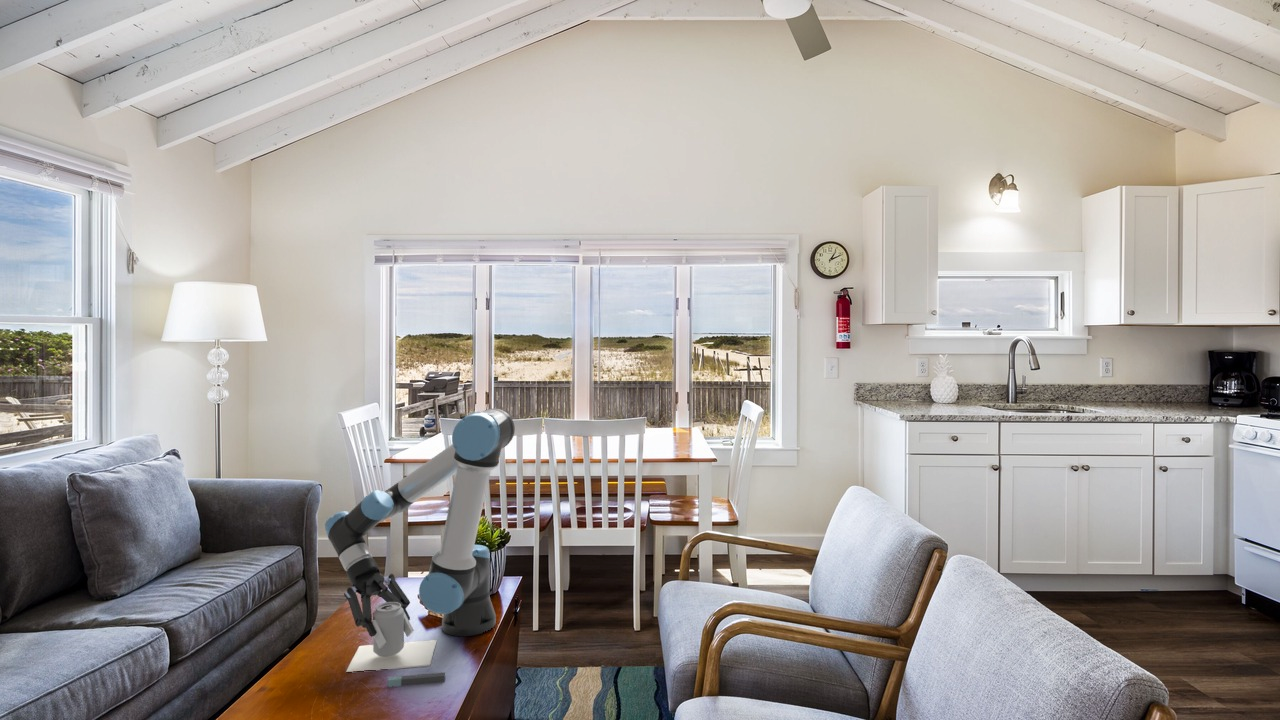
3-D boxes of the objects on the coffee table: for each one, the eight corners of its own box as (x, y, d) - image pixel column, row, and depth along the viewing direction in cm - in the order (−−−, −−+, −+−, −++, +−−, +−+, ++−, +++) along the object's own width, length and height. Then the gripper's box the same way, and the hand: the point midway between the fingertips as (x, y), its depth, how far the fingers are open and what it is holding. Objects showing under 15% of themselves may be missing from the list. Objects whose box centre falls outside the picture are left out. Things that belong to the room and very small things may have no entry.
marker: (445, 678, 161) (445, 671, 161) (444, 682, 160) (444, 675, 159) (389, 683, 159) (389, 676, 159) (387, 687, 157) (387, 680, 157)
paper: (436, 641, 181) (436, 639, 181) (429, 666, 167) (429, 664, 167) (359, 647, 178) (359, 645, 178) (346, 673, 164) (346, 671, 164)
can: (394, 642, 177) (393, 597, 176) (409, 650, 172) (409, 604, 172) (367, 652, 171) (367, 606, 170) (382, 661, 166) (382, 614, 166)
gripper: (386, 562, 188) (423, 632, 179) (317, 583, 171) (354, 662, 162) (398, 547, 185) (436, 618, 176) (328, 567, 168) (367, 646, 159)
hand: (396, 639), depth 169 cm, fingers closed on can, 7 cm apart
